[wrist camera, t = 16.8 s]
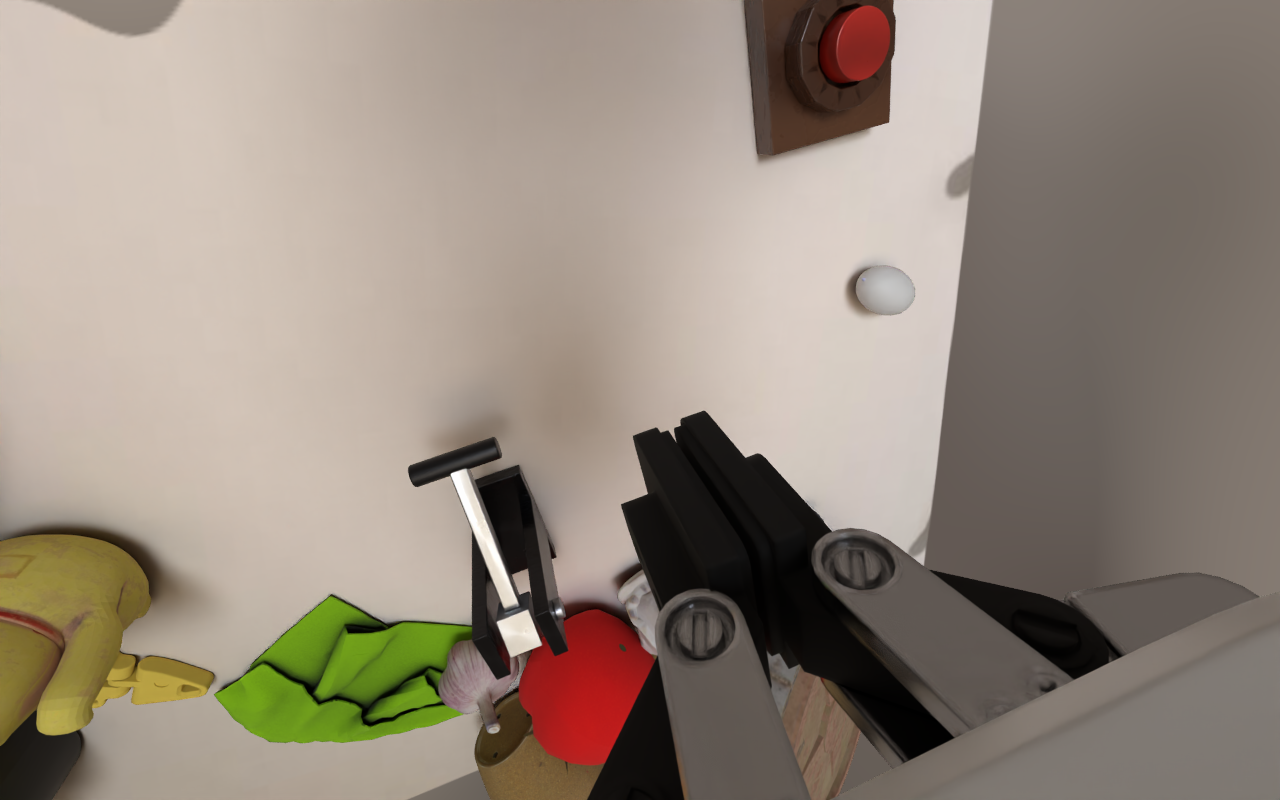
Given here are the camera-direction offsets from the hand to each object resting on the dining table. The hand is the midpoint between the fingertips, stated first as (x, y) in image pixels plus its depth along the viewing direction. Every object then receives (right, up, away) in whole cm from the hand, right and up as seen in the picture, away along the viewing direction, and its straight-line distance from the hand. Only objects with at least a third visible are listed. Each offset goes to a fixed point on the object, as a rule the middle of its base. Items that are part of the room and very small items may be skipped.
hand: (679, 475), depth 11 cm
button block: (+11, +25, +22) cm, 35 cm away
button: (+12, +23, +19) cm, 32 cm away
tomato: (-2, -20, +35) cm, 40 cm away
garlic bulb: (-17, -22, +37) cm, 46 cm away
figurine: (-39, -9, +24) cm, 47 cm away
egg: (+20, +11, +29) cm, 37 cm away
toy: (-44, -22, +28) cm, 56 cm away
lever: (-11, -8, +23) cm, 27 cm away
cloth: (-25, -24, +36) cm, 50 cm away
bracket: (-12, -9, +32) cm, 36 cm away
